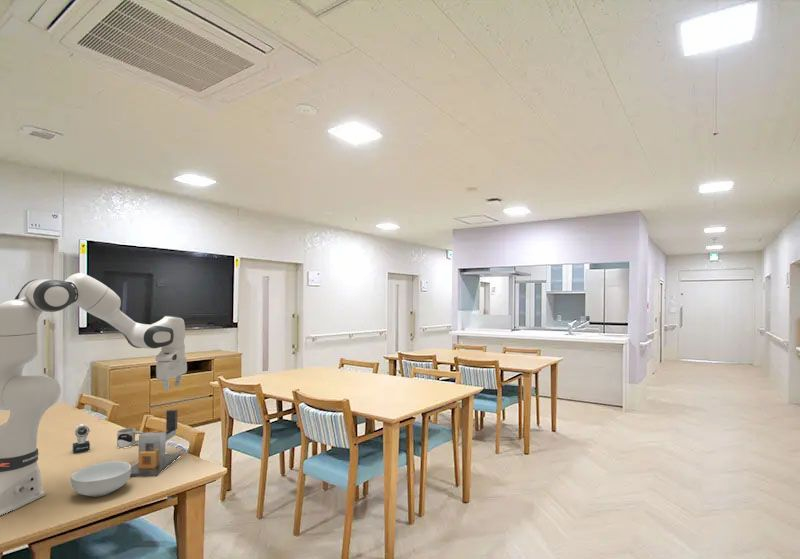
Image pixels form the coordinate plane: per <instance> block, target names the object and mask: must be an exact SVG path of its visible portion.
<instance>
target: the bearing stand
mask: <svg viewBox="0 0 800 559" xmlns="http://www.w3.org/2000/svg"><path fill="white" fill-rule="evenodd" d="M165 440H166V431H162V432H158V431H157V432H143V434H138V441H139V443H138V454H139V453H140V452H141V451H157V466H156V467H155V468H139V457H138V462H137V463H136V464H134V465H132V466H131V475H130V477H129V478H137V477H136V476H156V477H157V476H159V475H160V474H161V473H162V472H163V471H162V470H164V469H165V468H166V467H167V466H168V465H170V464H171V463H172V462H173V461H174V460H176V459H177V458H178V457H179V456H181V457H182V454H181V453H166V442H165ZM150 443H154V448H150ZM177 460H178V459H177ZM177 460H176V461H177ZM145 463H151V456H145ZM172 464H173V463H172ZM172 464H171V465H172ZM171 465H170V466H171ZM167 468H168V467H167ZM167 468H166V469H167ZM166 469H165V470H166ZM165 470H164V471H165ZM161 471H162V472H161ZM160 472H161V473H160ZM159 473H160V474H159ZM158 474H159V475H158Z"/></svg>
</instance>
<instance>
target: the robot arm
mask: <svg viewBox="0 0 800 559" xmlns="http://www.w3.org/2000/svg"><path fill="white" fill-rule="evenodd" d="M121 303H122V300H121V298H120V296H119V295H118V294H117V293H116V292H115V291H114V290H113V289H111V288H110V287H108V285H106V284H104V283H103V282H101V281H100V280H97V279H96V278H94V277H92V276H90V275H88V274H85V273H83V272H76V273H74V274H72V275H70V276H68V277H67V278H66V279H65V280H60V279H51V278H37V279H32V280H29V281H28V282H26V283H25V284H24V285H23V286H22V287H21V288H20V290H19V292H18V293H17V295H16V296H15V297H14V299H10V300H7V301H4V302H2V303H0V411H9V416H8V419H7V421H6V422H5V423H2V424H1V425H0V515H2V516H4V515H6V514H8V512H9V513H11V512H12V510H13V511H15V510H17V509H19V508H22V507H23V506H25V505H27V504H30V503H32V502H33V501H36V500H39V499H40V498H43V497H45V496H46V495H45V491H44V490H43V488H42V486H43V485H42V476H41V470H40V468H39V465H38V461H39V454H40V453H39V448H37V445H38V444H37V443H38V431H39V426H40V421H41V419H42V418H43V416H44V414H45V413H46V412H47V411H48V410H49V409H50V408H51V407H52V406H54V405H55V404H56V403H57V401H58V400H59V398H60V396H61V393H62V392H61V391H62V390H61V384H60V382H59V381H58V380H57V379H55V378H52V377H49V376H44V375H23V369H24V367H25V365H26V364H29V363H30V362H32V361H33V360H35V358H36V357H37V355H38V351H39V350H38V346H39V345H38V322H39V321H38V320H39V318H40V316H41V314H43V312H45V313H46V312H49V313H55V312H59V311H63V310H64V309H66V308H67V307H69V306H70V305H72V304H74V305H75V306H78V307H79V308H80V309H82V310H84V311H85V312H87V313H88V314H90V315H92V316H93V317H95V318H98V319H100V320H102V321H104V322H106V323H107V324H108V325H110V326H111V327H113V329H115V330H116V331H118V332H119V333H120V334H122V335H123V337H124V338H125V340H126V341H127V343H128V344H129V345H130V346H131V347H134V348H136V349H153V350H155V349H158V348H159V349H160V348H161V351H160V352H159V353H158V354H157V355H156V356H155V362H156V366H155V375H156V380H157V381H162V382H161V383H162V385H163V391H165V392H166V391H167V392H168V391H169V390H171V385H170V380H171V379H173V378H175V381H174V386H175V387H179V386H181V382H182V381H181V380H182V378H183V375H184V374H187V371H188V363H187V362H188V360H187V357H186V356H185V354H186V348H185V347H186V345H185V338H186V325H185V321H184V319H183V317H180V316H177V315H164V317H163V318H161V319H160V320H158V321H156V322H154V323H151V324H147V323H140V322H136V321H134V320H133V319H132V318H131V317H129V316H128V315H127V314H125V313H124V312H123V311H121V309H120V308H121V306H122V304H121ZM10 511H11V512H10ZM5 513H6V514H5ZM3 514H4V515H3Z"/></svg>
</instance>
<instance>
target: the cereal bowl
mask: <svg viewBox="0 0 800 559" xmlns="http://www.w3.org/2000/svg"><path fill="white" fill-rule="evenodd" d="M131 467H132V465H131V464H130V463H129V462H125V461H118V460H117V461H105V462H100V463H95V464H92V465H91V464H90V465H88V466H85V467H82V468H79V469H78V470H75V472H73V473H72V474H71V476H70V483H71V488H72V489H73V491H74V492H75V493H77V494H79V495H82V496H88V497H93V498H94V497H95V498H97V497H102V496H106V495H110V494H111V493H114V492H115V491H116V490H119V489H120V488H121V487H123V486H124V485H125V484H126V483H127V482H128V480H130V478H131V477H130V475H131Z"/></svg>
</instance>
